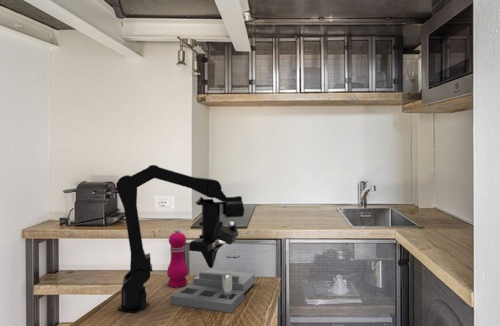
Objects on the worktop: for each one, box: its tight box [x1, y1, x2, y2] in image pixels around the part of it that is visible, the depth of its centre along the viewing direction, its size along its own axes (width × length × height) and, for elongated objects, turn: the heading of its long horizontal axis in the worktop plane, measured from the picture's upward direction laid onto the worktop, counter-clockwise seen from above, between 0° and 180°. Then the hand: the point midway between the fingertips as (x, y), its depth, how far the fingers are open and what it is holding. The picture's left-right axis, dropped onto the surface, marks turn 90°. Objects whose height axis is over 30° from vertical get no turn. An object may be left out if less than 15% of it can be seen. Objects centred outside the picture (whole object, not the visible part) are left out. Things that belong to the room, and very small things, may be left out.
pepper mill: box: [166, 227, 189, 288], centre depth 127 cm, size 7×7×20 cm
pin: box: [222, 273, 232, 299], centre depth 110 cm, size 3×3×9 cm
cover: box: [192, 268, 256, 294], centre depth 124 cm, size 18×11×5 cm, turn 71°
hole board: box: [170, 283, 245, 314], centre depth 112 cm, size 20×11×2 cm, turn 71°
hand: (210, 267), depth 114 cm, fingers closed
